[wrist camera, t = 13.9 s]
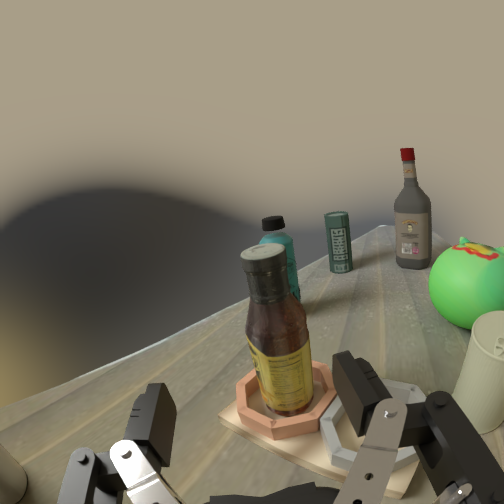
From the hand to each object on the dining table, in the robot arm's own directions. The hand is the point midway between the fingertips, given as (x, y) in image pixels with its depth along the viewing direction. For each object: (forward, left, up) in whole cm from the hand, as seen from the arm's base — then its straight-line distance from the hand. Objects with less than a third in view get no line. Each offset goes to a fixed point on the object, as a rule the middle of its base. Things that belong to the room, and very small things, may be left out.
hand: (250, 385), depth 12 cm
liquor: (-3, +66, -20) cm, 69 cm away
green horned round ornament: (+13, +41, -20) cm, 47 cm away
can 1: (-22, +58, -20) cm, 65 cm away
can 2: (+16, +20, -20) cm, 32 cm away
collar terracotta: (-9, +12, -18) cm, 23 cm away
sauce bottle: (-8, +12, -18) cm, 23 cm away
